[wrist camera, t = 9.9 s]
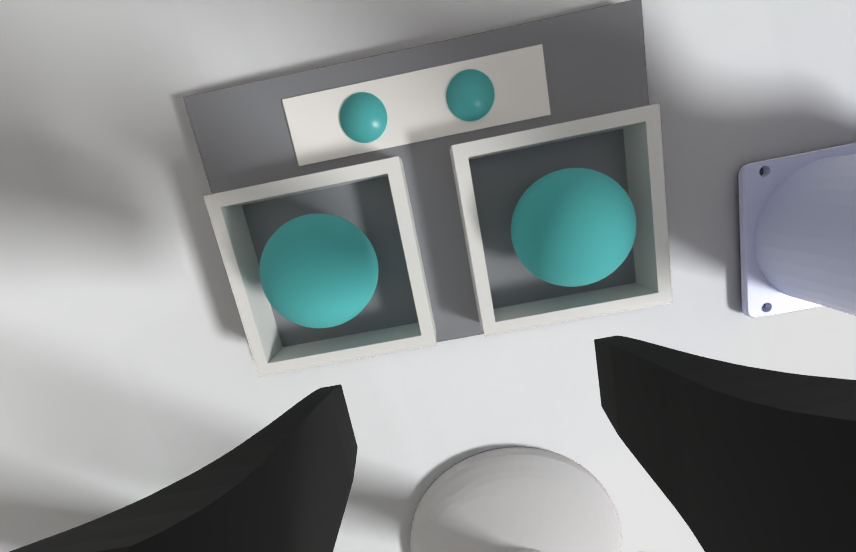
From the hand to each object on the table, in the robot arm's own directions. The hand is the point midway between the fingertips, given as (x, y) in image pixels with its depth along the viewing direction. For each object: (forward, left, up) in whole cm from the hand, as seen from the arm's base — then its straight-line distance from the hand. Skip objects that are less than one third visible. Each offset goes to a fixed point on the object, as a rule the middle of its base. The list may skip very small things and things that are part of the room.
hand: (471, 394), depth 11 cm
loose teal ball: (+5, -3, -9) cm, 11 cm away
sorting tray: (0, -5, -10) cm, 12 cm away
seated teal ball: (-5, -3, -9) cm, 11 cm away
